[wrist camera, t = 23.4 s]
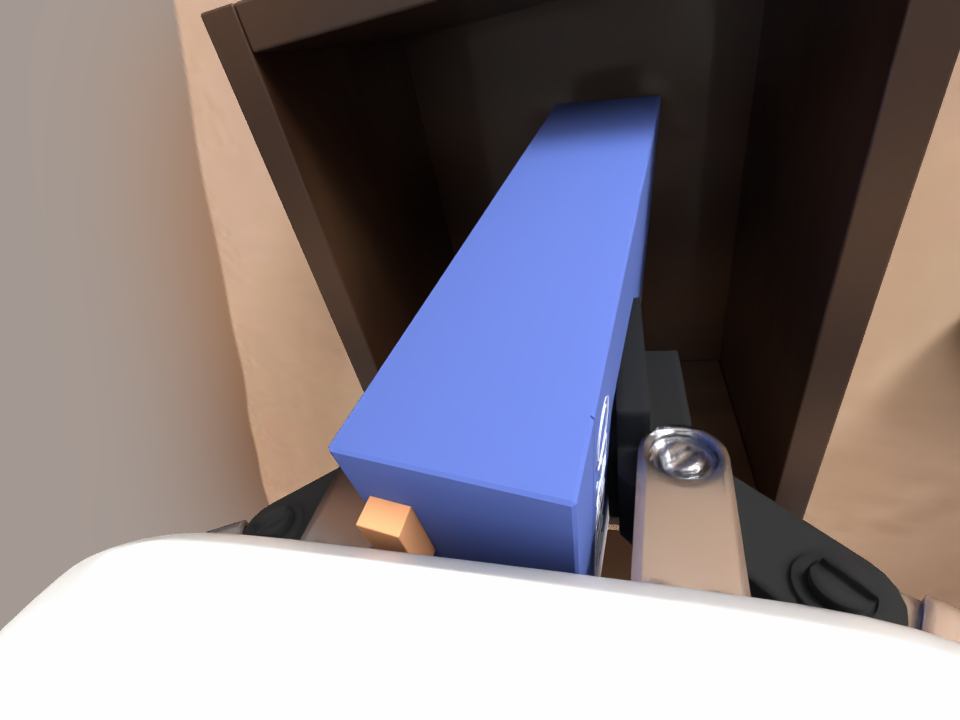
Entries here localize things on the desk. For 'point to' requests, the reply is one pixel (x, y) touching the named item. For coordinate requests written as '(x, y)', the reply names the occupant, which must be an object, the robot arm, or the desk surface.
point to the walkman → (516, 360)
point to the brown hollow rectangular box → (676, 183)
